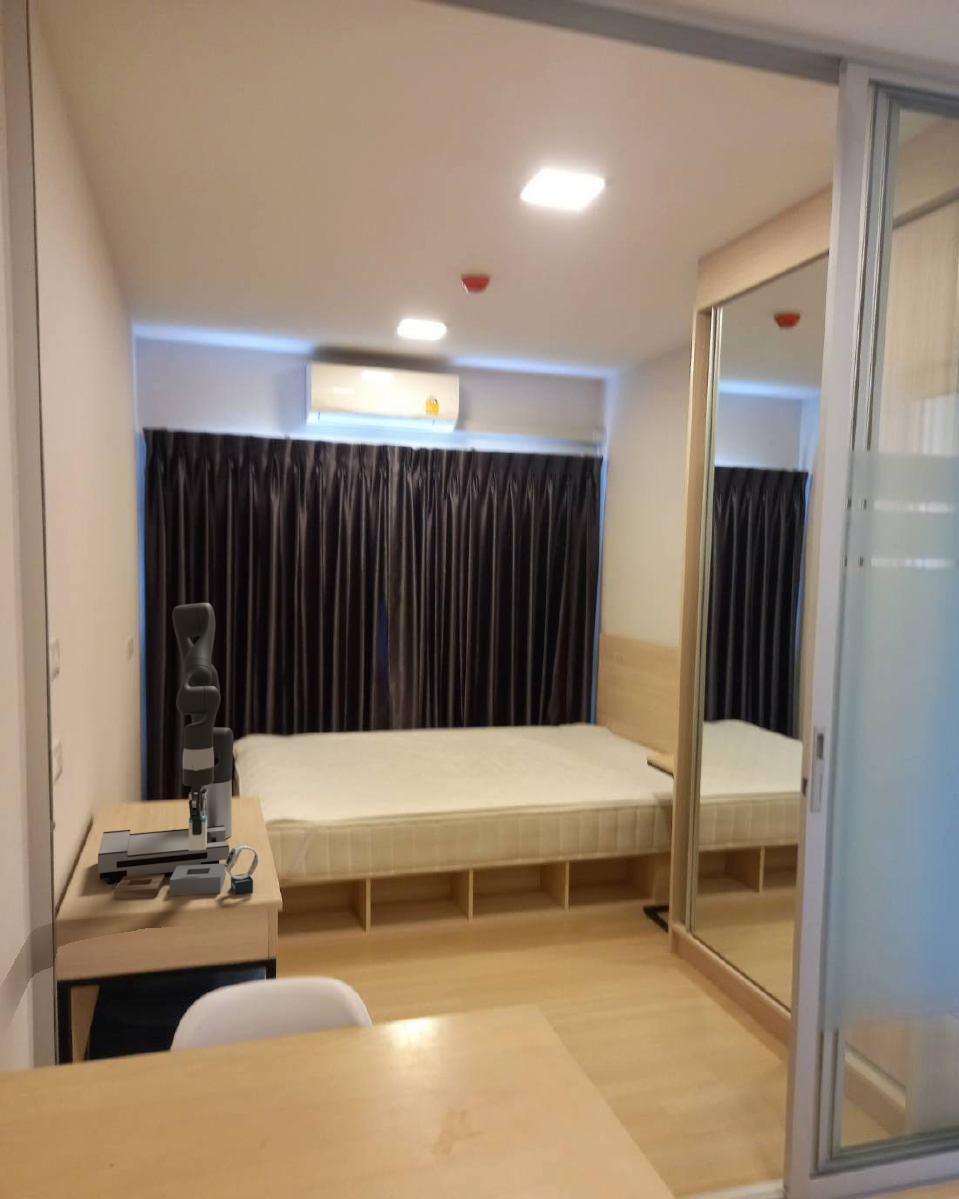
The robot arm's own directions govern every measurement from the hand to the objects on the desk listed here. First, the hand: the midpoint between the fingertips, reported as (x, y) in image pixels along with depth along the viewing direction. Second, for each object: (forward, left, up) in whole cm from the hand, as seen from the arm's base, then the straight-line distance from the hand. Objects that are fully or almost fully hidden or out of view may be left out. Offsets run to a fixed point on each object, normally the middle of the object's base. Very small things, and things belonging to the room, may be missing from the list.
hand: (197, 832), depth 208 cm
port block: (0, 0, -14) cm, 14 cm away
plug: (0, 0, -4) cm, 4 cm away
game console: (-18, -11, -14) cm, 25 cm away
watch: (+4, +11, -14) cm, 18 cm away
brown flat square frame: (0, -14, -14) cm, 20 cm away
